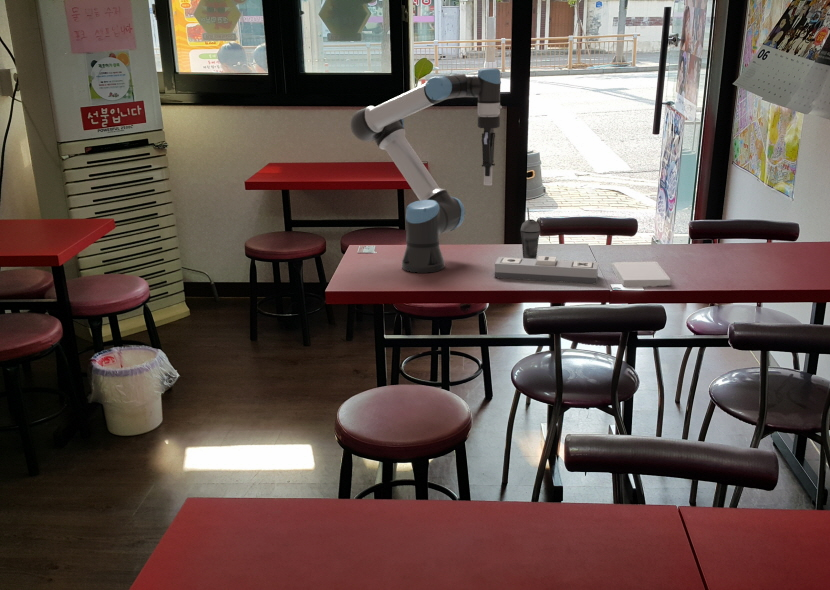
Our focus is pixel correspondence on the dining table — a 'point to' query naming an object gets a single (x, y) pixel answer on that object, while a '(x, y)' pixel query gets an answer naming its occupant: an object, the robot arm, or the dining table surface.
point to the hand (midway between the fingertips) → (487, 185)
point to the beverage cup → (530, 237)
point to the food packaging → (640, 274)
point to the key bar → (546, 261)
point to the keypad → (546, 271)
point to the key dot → (511, 261)
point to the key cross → (583, 264)
